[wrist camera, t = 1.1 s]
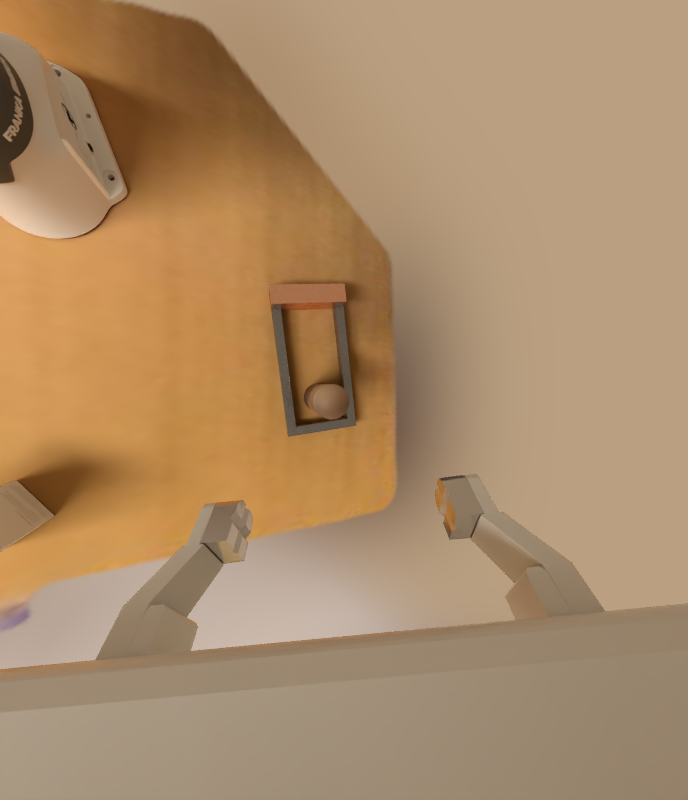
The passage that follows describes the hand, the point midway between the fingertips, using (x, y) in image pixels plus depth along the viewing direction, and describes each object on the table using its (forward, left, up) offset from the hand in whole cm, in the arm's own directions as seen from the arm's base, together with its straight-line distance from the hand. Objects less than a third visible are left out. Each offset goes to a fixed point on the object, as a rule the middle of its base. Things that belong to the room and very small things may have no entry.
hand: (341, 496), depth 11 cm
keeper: (-2, +6, -37) cm, 38 cm away
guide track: (-8, +6, -37) cm, 38 cm away
